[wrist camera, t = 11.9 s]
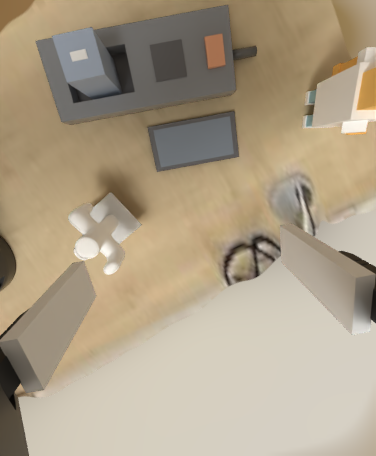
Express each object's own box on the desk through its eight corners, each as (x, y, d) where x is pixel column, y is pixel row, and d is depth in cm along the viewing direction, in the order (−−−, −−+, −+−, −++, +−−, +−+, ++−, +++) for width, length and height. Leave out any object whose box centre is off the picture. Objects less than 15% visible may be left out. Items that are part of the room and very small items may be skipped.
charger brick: (93, 100, 35) (66, 82, 26) (83, 66, 33) (51, 35, 25) (122, 93, 35) (104, 73, 26) (113, 59, 33) (91, 26, 25)
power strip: (70, 124, 36) (59, 121, 33) (47, 50, 33) (32, 38, 30) (256, 90, 36) (264, 83, 33) (250, 12, 33) (259, -4, 29)
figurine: (111, 183, 39) (75, 200, 25) (148, 223, 42) (134, 259, 28) (82, 209, 40) (32, 240, 26) (120, 246, 43) (92, 293, 29)
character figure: (325, 67, 35) (464, -13, 18) (352, 125, 38) (493, 102, 21) (282, 100, 37) (376, 53, 20) (311, 154, 40) (414, 155, 22)
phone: (157, 171, 39) (156, 171, 38) (148, 127, 37) (147, 127, 36) (237, 156, 39) (238, 156, 38) (233, 112, 37) (234, 111, 36)
